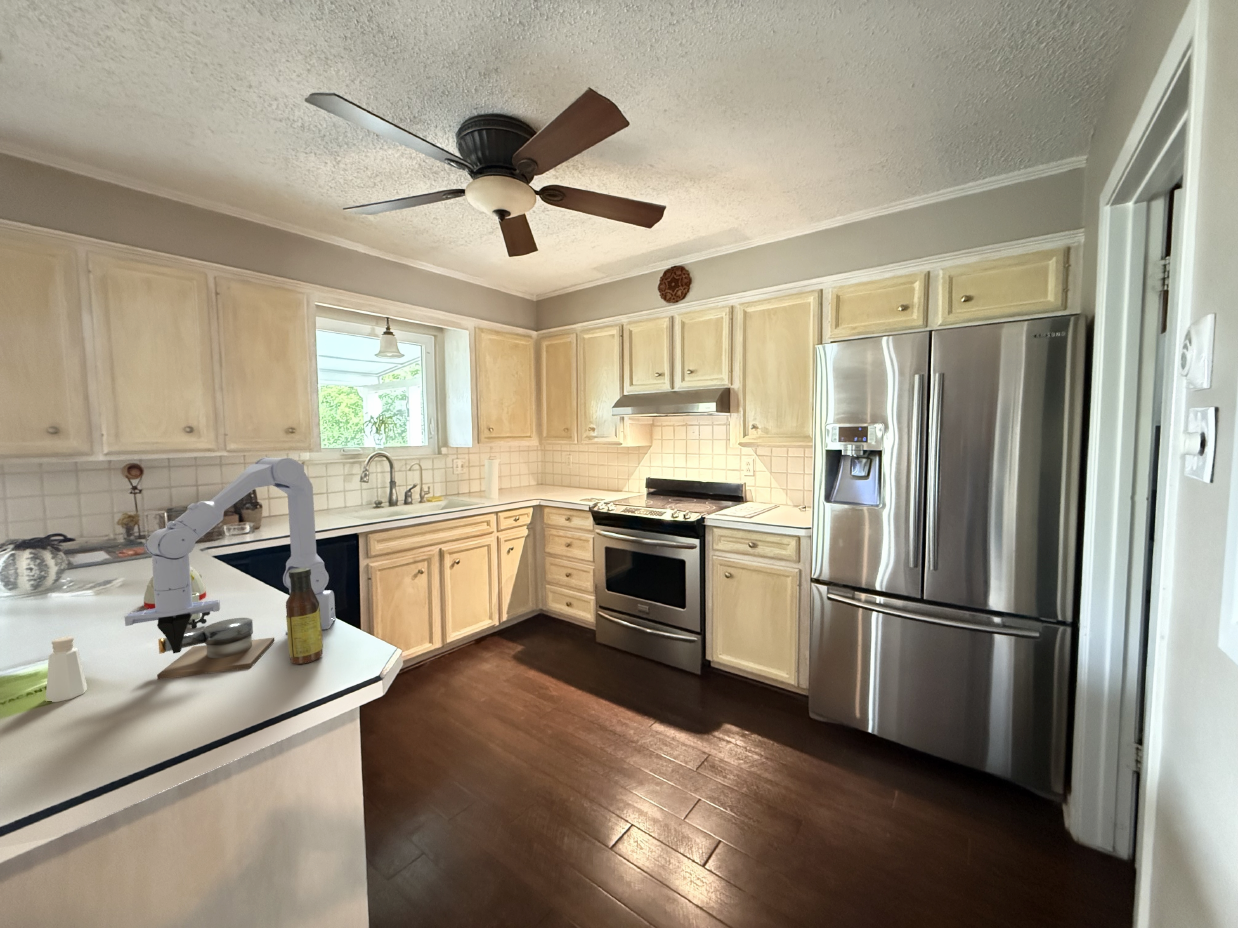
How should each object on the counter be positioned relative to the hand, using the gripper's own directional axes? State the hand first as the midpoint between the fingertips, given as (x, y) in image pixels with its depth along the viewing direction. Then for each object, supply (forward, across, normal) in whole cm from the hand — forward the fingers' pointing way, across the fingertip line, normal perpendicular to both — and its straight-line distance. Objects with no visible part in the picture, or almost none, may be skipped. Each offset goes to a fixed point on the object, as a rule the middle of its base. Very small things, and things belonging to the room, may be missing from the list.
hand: (177, 651), depth 103 cm
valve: (+5, +2, -35) cm, 35 cm away
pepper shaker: (+5, +16, 0) cm, 17 cm away
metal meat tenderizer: (+1, -5, -4) cm, 6 cm away
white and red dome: (+5, +9, -60) cm, 61 cm away
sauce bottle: (+5, -22, +8) cm, 24 cm away
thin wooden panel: (+4, -7, -3) cm, 8 cm away
